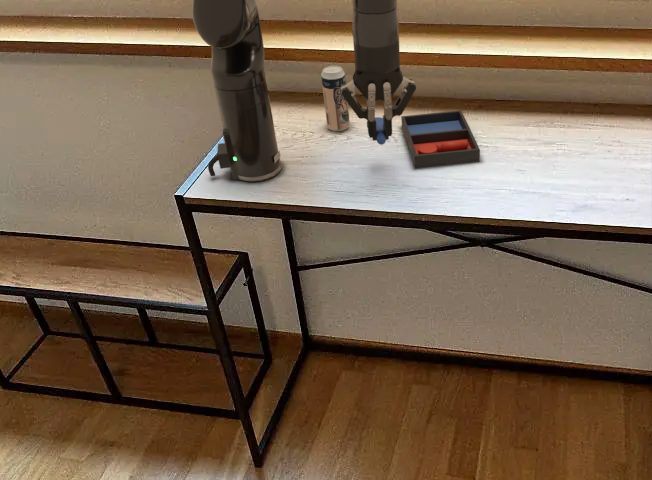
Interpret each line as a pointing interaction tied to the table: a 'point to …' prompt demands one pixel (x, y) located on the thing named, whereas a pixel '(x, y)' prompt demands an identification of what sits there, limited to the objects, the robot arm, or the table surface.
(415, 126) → the sorting tray
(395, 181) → the table surface
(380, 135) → the blue spoon
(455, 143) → the red spoon
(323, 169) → the table surface
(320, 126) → the table surface
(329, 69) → the beer can
